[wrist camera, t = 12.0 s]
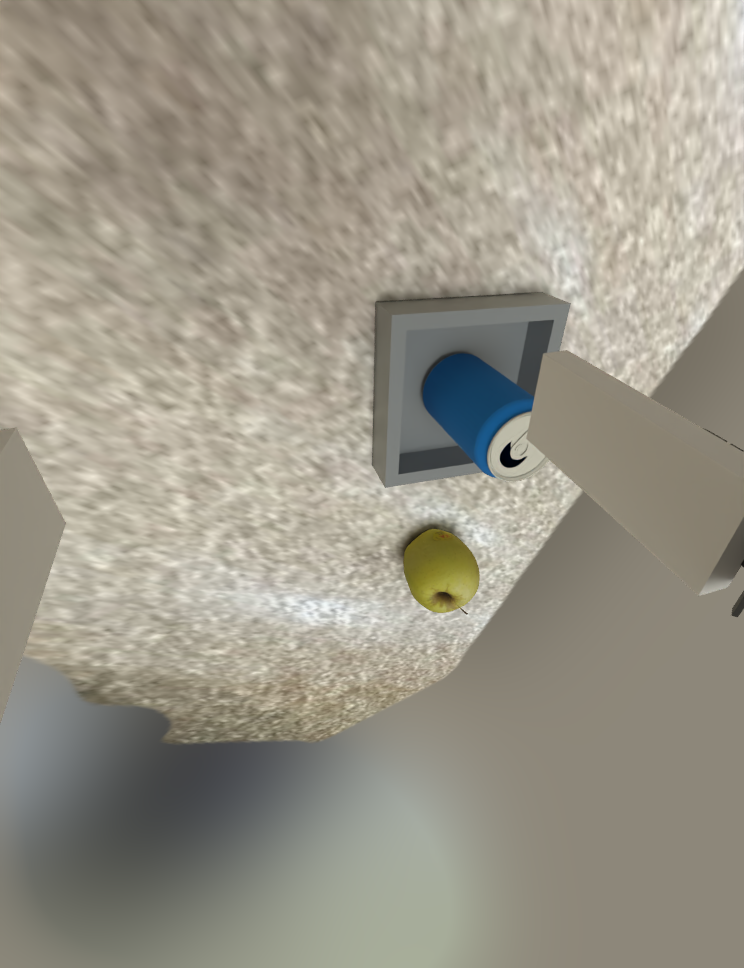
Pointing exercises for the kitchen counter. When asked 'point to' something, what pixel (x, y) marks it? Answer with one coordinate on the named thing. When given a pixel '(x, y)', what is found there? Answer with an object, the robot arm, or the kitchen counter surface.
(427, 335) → the bin
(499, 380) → the beverage can
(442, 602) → the apple
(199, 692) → the kitchen counter surface
